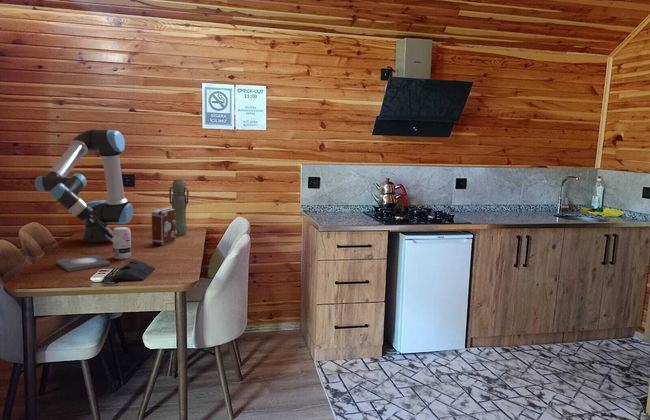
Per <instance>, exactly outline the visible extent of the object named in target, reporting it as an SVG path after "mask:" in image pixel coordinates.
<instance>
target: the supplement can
mask: <svg viewBox="0 0 650 420" xmlns="http://www.w3.org/2000/svg"><path fill="white" fill-rule="evenodd" d="M112 231H113V235H115V236H116V237H117V238H118V239H119V241H118V242H117V243H116V244H115V243H114V242H112V257H113V258H114V259H115V260H126V259H129V258H131V257H132V241H131V240H132V238H131V229H130V227H128V226H127V227H126V226H119V227H114V228H113V230H112Z"/></svg>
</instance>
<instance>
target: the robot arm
mask: <svg viewBox="0 0 650 420" xmlns="http://www.w3.org/2000/svg"><path fill="white" fill-rule="evenodd" d="M68 146H69V147H68V148H67V149H66V151H64V152H63V153H62V155H61V156H60V157H59V159H58V160H57V161H56V162H55V164H53V166H52V167H51V168H50V169H49V171H48V172H47V173H46V174H45V175H40V176H37V177H36V178H35V181H34V187H35V188H36V190H37V191H39V192H46V193H49V196H51V197H52V198H53V199H54V200H55V201H56V202H57V203H59V205H61V206H62V207H64V208H65V209H66V210H67V211H68V213H69V214H71V213H72V215H74V216H75V217H76V218H77V219H78V220H80V221H81V222H83V221H84V229H83V233H82V236H81V242H83V243H90V244H91V243H92V244H95V243H104V242H108V241H111V242H112V243H113V242H114V243H115V244H116V243H117V242H118V241H119V239H118V238H117V237H116V236H115V235H113V230H112V229H111V228H109V227H108V224H119V225H122V224H128V223H130V222H131V220H132V218H133V216H134V206H133V204H132V203H129V201H128V198H126V197H125V191H124V189H125V188H124V183H123V176H122V175H123V174H122V169H121V168H122V167H121V160H120V156H121V155H122V153H123V151H124V150H125V146H126V141H125V138H124V136H123V134H122V133H121V132H120V131H119V130H114V129H94V128H93V129H87V130H84V131H82V132H81V133H79V134H77V135H76V136H75V137H73V139H72V140H71V141H70V143H69V145H68ZM89 152H97V153H98V156H99V157H100V158H101V159H102V165H103V171H104V172H103V173H104V178H105V186H106V192H107V199H106V200H105V199H103V200H102V199H100V200H99V199H98V200H92V201H87V202H85V201H84V200H83V199H82V198H81V197H79V196H78V194H79V193H80V192H81V191H82V190H83V189H84V188H85V187H86V186H87V183H88V181H87V178H86V177H85V176H84V175H83V174H81V173H74V174H73V175H72V174H71V176H68V175H69V174H70V172H71V171H72V169H73V168H74V167H75V166H76V164H78V162H79V161H80V160H81V158H82V157H83V156H85V155H87V154H88V153H89Z"/></svg>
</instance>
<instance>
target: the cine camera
mask: <svg viewBox="0 0 650 420" xmlns="http://www.w3.org/2000/svg"><path fill="white" fill-rule="evenodd" d="M175 222H176V221H175V210H174V209H172V207H166V208H159V209H154V210H153V211H152V212H151V243H152V245H156V246H166V245H168V244H171V243H173V242H175V241H176V237H177V236H176V233H177V231H176V230H175Z"/></svg>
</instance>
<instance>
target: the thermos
mask: <svg viewBox="0 0 650 420" xmlns="http://www.w3.org/2000/svg"><path fill="white" fill-rule="evenodd" d="M172 181H173V182H172V186H171V187H169V189H168V192H169V195H168V197H169V198H168V199H169V204H170V205H171V208H172V209H174V210H175V221H176V222H175V230H176V231H177V233H176V237H185V236H187V232H188V230H187V229H188V226H187V217H186V216H187V212H186V211H187V210H186V209H187V204H189V201H190V200H189V199H190V198H189V197H190V194H189V193H190V191H189V188H188V187H186V183H185V180H183V179H181V178H180V179H179V178H178V179H174V180H172Z"/></svg>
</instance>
